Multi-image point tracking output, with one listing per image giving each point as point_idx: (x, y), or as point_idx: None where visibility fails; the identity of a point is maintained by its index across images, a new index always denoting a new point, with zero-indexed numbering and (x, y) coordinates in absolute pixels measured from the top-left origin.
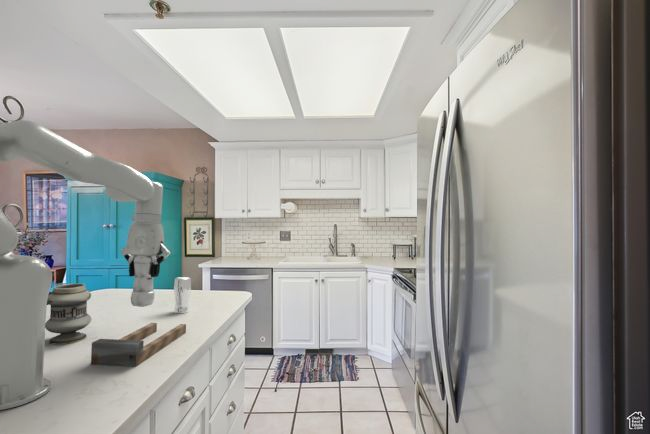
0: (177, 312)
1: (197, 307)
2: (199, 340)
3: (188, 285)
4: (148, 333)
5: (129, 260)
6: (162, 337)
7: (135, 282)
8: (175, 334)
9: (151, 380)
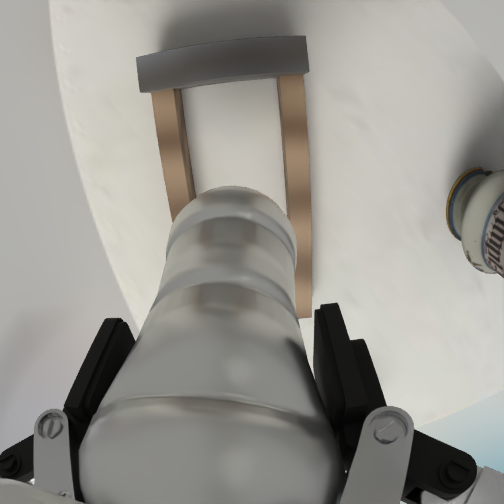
0: None
1: None
2: (122, 265)
3: None
4: None
5: (395, 442)
6: (178, 209)
7: (249, 260)
8: None
9: (75, 28)
